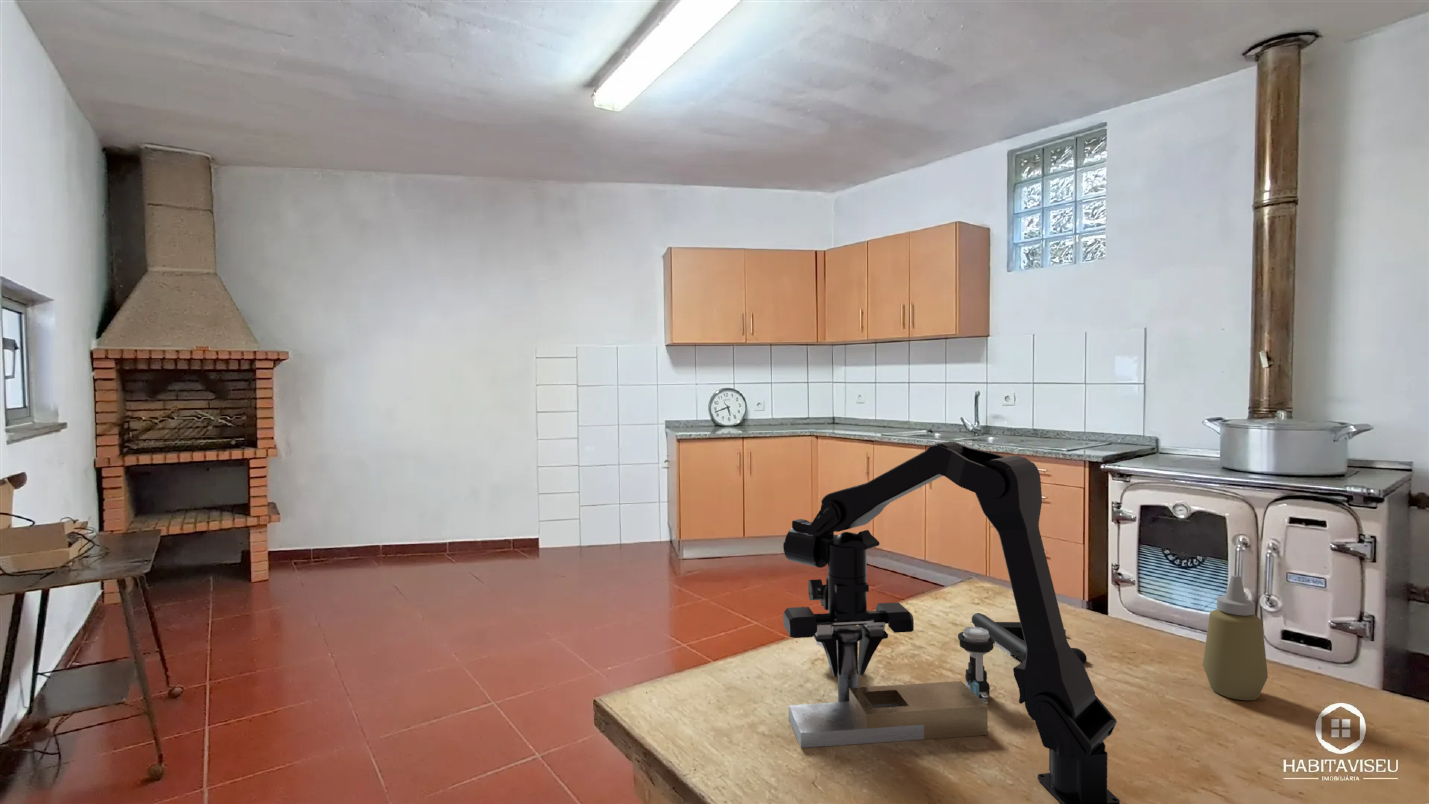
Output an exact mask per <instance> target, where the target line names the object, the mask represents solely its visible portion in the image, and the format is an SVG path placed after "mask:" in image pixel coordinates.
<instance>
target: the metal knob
mask: <svg viewBox="0 0 1429 804" xmlns="http://www.w3.org/2000/svg"><path fill="white" fill-rule="evenodd" d="M833 634H834V636H835V637H836V640H837V646H838V674H837V700H838V701H837V702H848V701H849V688H856V687H859V671H858V656H859V644H858V641H860V640H861V639H862V628H861V627H859V626H858V625H851V626H834V627H833Z"/></svg>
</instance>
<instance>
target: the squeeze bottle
mask: <svg viewBox="0 0 1429 804" xmlns="http://www.w3.org/2000/svg"><path fill="white" fill-rule="evenodd" d="M1255 605H1256V603H1255V602H1254V601H1253V600H1251V599H1248V598H1247V597H1246V593H1245V589H1244V585H1243V581H1242V577H1241V576H1240V575H1235V574H1234V575H1231V576H1230V579H1229V583H1228V586H1227V590H1226V594H1225V595H1220V596H1217V599H1216V609H1213V610H1212V611H1210V612H1209V616H1208V622H1207V623H1208V624H1207V630H1206V631H1207V632H1206V639H1205V645H1204V653H1203V660H1202V666H1203V669H1204V673H1205V675H1206V677H1207V680H1208V683H1209V685H1210V688H1211V690H1213V692H1215V693H1216V694H1218V695H1220V696H1224V697H1226V698H1229V699H1234V700H1238V701H1255V700H1257V699H1258V698H1259V697H1260V695H1261V692H1262V690H1263V689H1264V687H1265V684H1266V682H1267V680H1268V677H1269V676H1268V675H1269V673H1268V663H1267V655H1266V645H1265V638H1264V637H1265V636H1264V629H1263V627H1264V625H1263V620H1262V619H1261V618H1260V617H1258V616H1257V615H1256V614H1255Z"/></svg>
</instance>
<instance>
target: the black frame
mask: <svg viewBox="0 0 1429 804" xmlns="http://www.w3.org/2000/svg"><path fill="white" fill-rule="evenodd" d="M971 623H972V624H973V627H980V628H984V629H986V630H988V632H989V634H990V635H992V636H993V637H994V638H995V643H994V644H993V645H995V646H996V647H997V648H999V649H1000V650H1002V651H1003V652H1004V653H1006V654H1007V655H1008V656H1010V657H1011V656H1013V655H1014V656H1013V657H1015V658H1017V659H1019V660H1020V661H1021V663H1022V662H1023V661H1025V660H1026V652H1027V651H1026V644H1025V640H1024V636H1023V632H1022V628H1021V624H1020V621H994V620H993V619H991V618H990V617H988V616H987V615H986V614H983V613H981V612H976V613H974V614H973V615H972V617H971ZM1064 631H1065V635H1066V634H1067V629H1065V628H1064ZM1066 636H1067V635H1066ZM1071 648H1072V650H1073V651H1074V652H1075V654H1076V655H1077V656H1078V658H1079V659H1080V660H1081V662H1082V663H1083V665H1084V664H1085V663H1086V662H1087V660H1088V659H1087V655H1086V654H1085V652H1084V651H1083V650H1081V649H1080V648H1078V647H1077V648H1076V647H1071Z"/></svg>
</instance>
